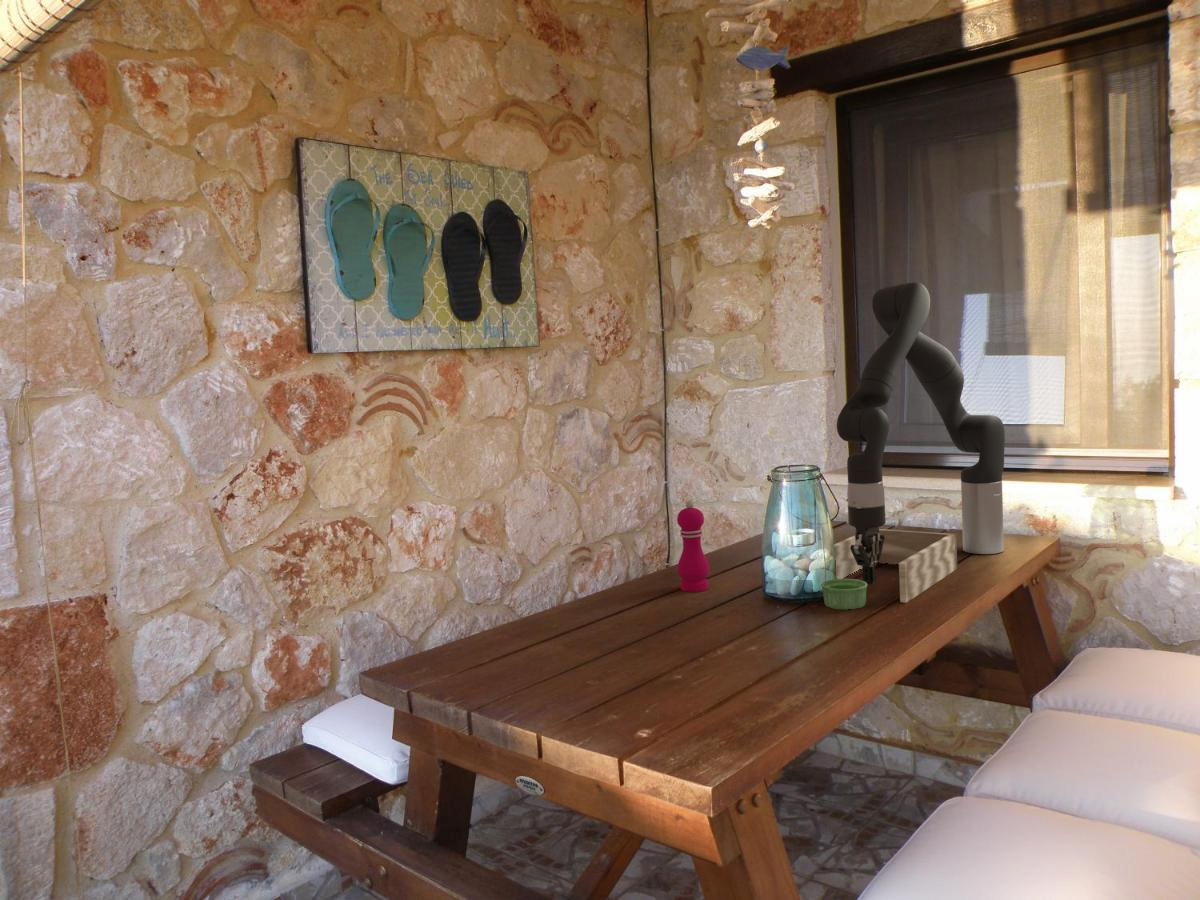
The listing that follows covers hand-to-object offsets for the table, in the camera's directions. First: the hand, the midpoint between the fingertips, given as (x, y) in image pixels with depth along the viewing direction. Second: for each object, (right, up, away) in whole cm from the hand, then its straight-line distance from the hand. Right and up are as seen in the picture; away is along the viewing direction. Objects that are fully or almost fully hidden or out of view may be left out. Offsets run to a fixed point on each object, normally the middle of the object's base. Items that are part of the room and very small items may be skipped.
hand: (869, 583), depth 193 cm
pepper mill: (-36, -3, +11) cm, 38 cm away
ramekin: (-8, -3, -9) cm, 12 cm away
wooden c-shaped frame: (+6, 0, +8) cm, 10 cm away
